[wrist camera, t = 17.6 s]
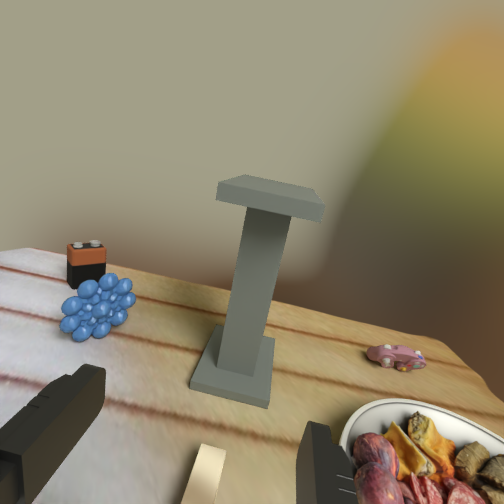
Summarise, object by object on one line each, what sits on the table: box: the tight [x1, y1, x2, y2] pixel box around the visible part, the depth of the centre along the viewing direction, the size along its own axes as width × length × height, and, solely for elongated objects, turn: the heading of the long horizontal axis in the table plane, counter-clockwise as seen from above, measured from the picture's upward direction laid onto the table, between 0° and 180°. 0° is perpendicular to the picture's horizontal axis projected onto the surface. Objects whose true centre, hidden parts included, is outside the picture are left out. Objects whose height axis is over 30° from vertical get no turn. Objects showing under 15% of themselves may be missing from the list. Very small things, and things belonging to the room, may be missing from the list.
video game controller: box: [367, 345, 426, 371], centre depth 58 cm, size 10×5×7 cm, turn 87°
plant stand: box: [189, 175, 325, 409], centre depth 47 cm, size 20×12×31 cm, turn 173°
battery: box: [67, 240, 106, 289], centre depth 65 cm, size 4×7×10 cm, turn 134°
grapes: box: [59, 273, 136, 342], centre depth 50 cm, size 12×7×12 cm, turn 131°
